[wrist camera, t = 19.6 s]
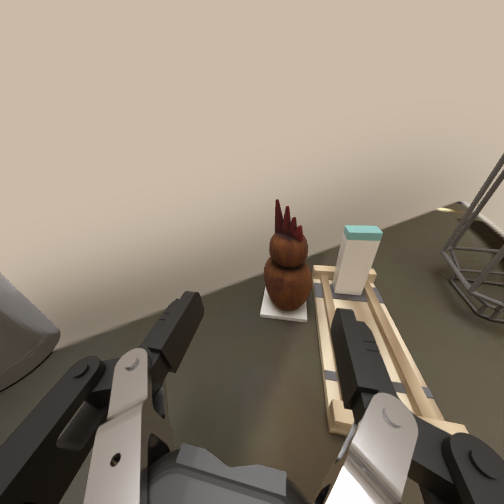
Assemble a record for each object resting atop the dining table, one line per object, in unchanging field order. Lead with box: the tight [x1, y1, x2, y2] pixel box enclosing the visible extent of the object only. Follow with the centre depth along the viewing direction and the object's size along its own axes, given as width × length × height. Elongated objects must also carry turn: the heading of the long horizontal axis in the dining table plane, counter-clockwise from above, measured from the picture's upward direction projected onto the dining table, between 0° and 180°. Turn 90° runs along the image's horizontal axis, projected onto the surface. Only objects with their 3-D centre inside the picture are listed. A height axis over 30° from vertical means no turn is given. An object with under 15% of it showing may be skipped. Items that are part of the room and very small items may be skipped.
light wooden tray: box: [312, 265, 469, 437], centre depth 22 cm, size 9×20×3 cm, turn 169°
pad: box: [260, 287, 307, 323], centre depth 28 cm, size 6×6×1 cm
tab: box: [332, 225, 383, 295], centre depth 25 cm, size 4×2×10 cm, turn 79°
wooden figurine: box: [264, 199, 312, 311], centre depth 23 cm, size 7×6×15 cm
